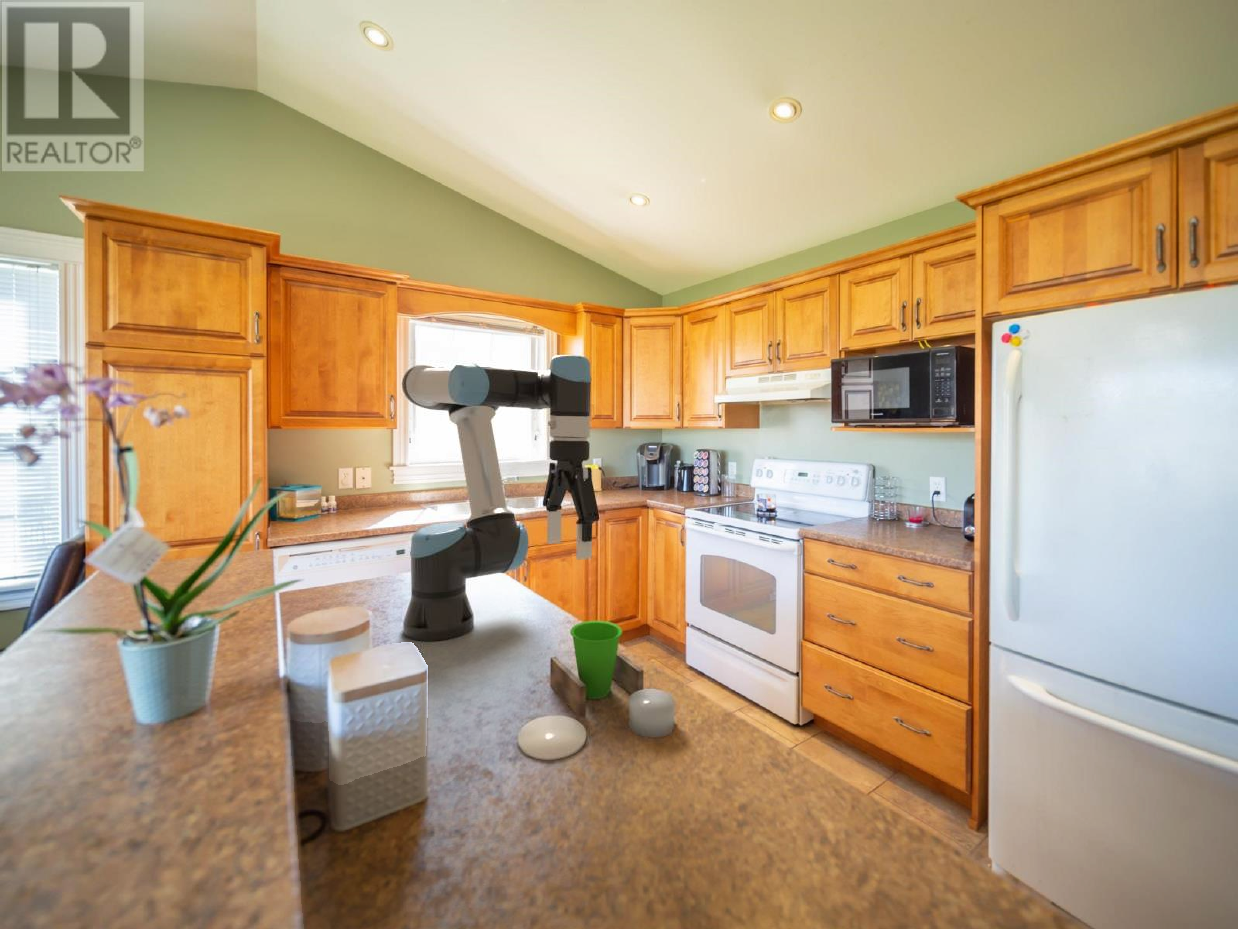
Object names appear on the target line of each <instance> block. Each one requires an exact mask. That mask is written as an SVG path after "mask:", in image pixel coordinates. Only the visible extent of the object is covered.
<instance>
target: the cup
mask: <svg viewBox="0 0 1238 929" xmlns="http://www.w3.org/2000/svg"><path fill="white" fill-rule="evenodd" d="M569 633H570V635H571V636H572V640H573V647H574V653H575V654H574V656H575V660H576V668H577V674H578V678H579V679H580V680H581V681H582V682H583V683H584V684H585V685H586V698H588V699H593V700H596V699H597V698H598V699H602V698H605V697H607V696H608V695H609V694H610V691H611V689H612V683H613V672H614V667H615V661H616V655H617V651H619V650H618V649H619V643H620V637H621V636H622V635H623V630H622V628H621V626H619V625H618V624H616V623H613V622H610V621H605V620H588V621H582V622H579V623H577V624H575V625H573V626H572V627H571V629H570V631H569Z"/></svg>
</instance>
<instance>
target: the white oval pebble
mask: <svg viewBox="0 0 1238 929" xmlns="http://www.w3.org/2000/svg"><path fill="white" fill-rule="evenodd" d="M586 742H587V730H586V728H585V726H584V725H583V723H581V722H580V721H578V720H576V719H575V718H572V717H569V716H564V715H548V716H542V717H541V716H540V717H538V718H535V719H532V720H531V721H529V722H528V723H526V724H524V726H522V727H521V729H520V730H519V732H518V734H517V744H518V747H519V749H520V750H521V752H523V754H524V755H526V756H528V757H531V758H533V759H537V760H543V761H554V760H561V759H565V758H568V757H570V756H573V755H574V754H576V753H578V752H579V751H580V750H581V749H582V748H583V747H584V746H585V744H586Z"/></svg>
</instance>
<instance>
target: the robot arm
mask: <svg viewBox="0 0 1238 929" xmlns="http://www.w3.org/2000/svg"><path fill="white" fill-rule="evenodd" d="M591 376H592V375H591V362H590V360H589V358H588V357H585V356H581V355H572V354H571V355H570V354H569V355H568V354H564V355H563V354H559V355H555V356H553V357H552V358H551V360H550V365H549V369H548V370H547V369H546V370H536V369H526V368H513V367H512V368H511V367H502V366H501V367H500V366H494V365H483V364H478V363H457V364H445V363H438V362H437V363H436V362H432V363H431V362H429V363H421V364H416V365H414V366H412V367H410V368H409V369H408V370H407V371H406V372H405V374H404V375H403V377H402V380H401V388H402V392H403V394H404V396H405V397H406V399H407V400H408V401H409V402H410V403H412V404H414V405H416V407H420V408H423V409H427V410H433V411H447V412H448V417H449V420H450V421H451V423H453V424H455V425H456V428H457V435H458V439H459V440H458V441H459V447H460V452H461V458H462V466H463V471H464V477H465V483H466V490H467V497H468V502H469V507H470V509H469V510H470V512H471V513H470V516H469V518H468V519H467V520H466V522H465V523H466V524H465V523H463V522H458V521H450V522H441V523H435V524H431V525H427V526H424V527H422V528H420V529H418V530H416V531H415V532H414V533H413V535H412V536H411V539H410V540H411V541H410V550H409V556H410V570H411V571H410V576H411V577H410V579H411V580H410V583H411V584H410V587H411V590H410V591H411V592H410V595H411V598H410V599H409V600H410V601H409V603H408V606H407V610H406V612H405V616H404V619H403V621H402V622H403V624H402V626H403V627H402V628H403V629H402V630H403V631H402V632H403V635H404V636H405V637H407V638H409V639H412V640H415V641H426V642H433V641H442V640H444V641H445V640H448V639H453V638H457V637H460V636H462V635H464V634H466V633H468V632H469V631H471V630H472V629H473V627H474V625H475V624H474V623H475V622H474V618H475V617H474V616H475V615H474V612H473V609H472V607H471V606H472V605H471V603H470V601H469V598H468V595H467V590H466V588H467V585H466V584H467V583H466V582H467V579H472V578H477V577H483V576H489V575H495V574H500V573H501V574H505V573H507V572H509V571H510V572H511V571H516V570H517V569H519V568H521V567H522V565H523V564H524V563H525V561H526V557H527V556H528V552H529V544H530V543H529V533H528V529H527V528H526V527H525V524H524V523H522V522H520V521H516V516H515V512H513V511H512V510H510V509H508V506H507V503H506V496H505V491H504V485H503V479H502V475H501V468H500V464H499V458H498V453H497V452H498V451H497V447H496V441H495V436H494V431H493V430H494V428H493V424H492V420H493V418H494V417H495V416H496V414H497V413H496V412H497V410H498V409H499V407H501V408H502V407H503V408H504V407H505V408H519V409H520V408H521V409H523V408H524V409H531V410H543V409H544V410H545V409H549V421H548V423H547V424H548V427H549V437H551V438H552V439H553V440H550V441H549V456H548V457H549V460H551V461H557V462H550V463H549V464H548V465H549V468H548V476H547V482H546V485H545V490H544V495H543V499H542V505H543V507H545V508H546V511H547V527H546V528H547V531H546V532H547V534H546V536H547V540H546V541H547V544H548V545H554V544H561V543H562V510H563V507H562V503H563V500H564V498H565V496H566V494H567V492H568V493H569V494H570V495H571V498H572V502H573V505H574V507H575V508H574V509H575V512H576V514H577V517H578V518H577V520H576V522H575V524H576V557H575V558H576V560H578V561H580V560H589V559H592V557H593V555H592V553H593V548H592V547H593V524H594V523H595V522H599V521H600V513H599V508H598V504H597V498H596V494H595V493H596V492H595V489H594V483H593V476H592V475H593V474H592V472H593V471H592V468H591V467H590V466H589V467H585V466H584V467H583V462H586V461H588V460H590V450H591V449H590V446H591V445H590V442H589V441H588V439H589V438H590V437H591V416H590V415H591V393H592V392H591V389H592V388H591V387H592V386H591V384H592V377H591Z"/></svg>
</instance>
